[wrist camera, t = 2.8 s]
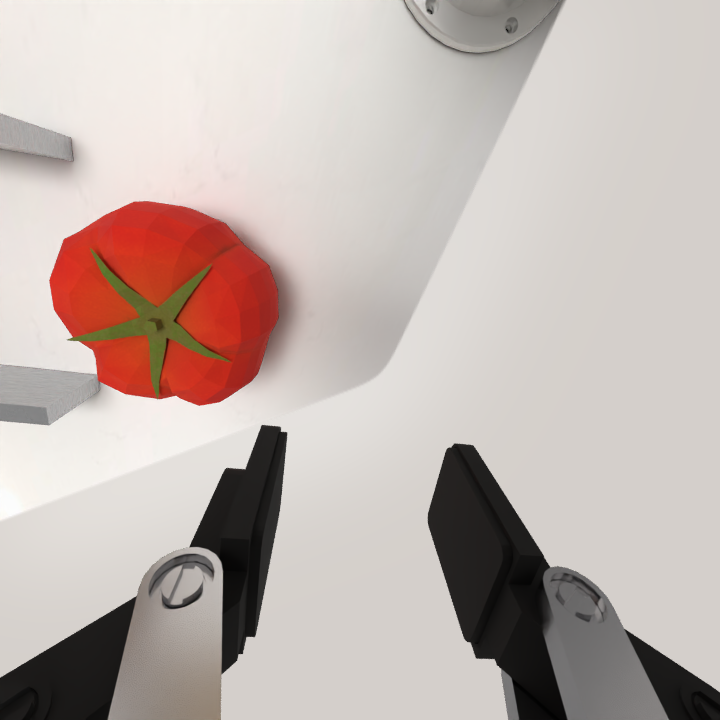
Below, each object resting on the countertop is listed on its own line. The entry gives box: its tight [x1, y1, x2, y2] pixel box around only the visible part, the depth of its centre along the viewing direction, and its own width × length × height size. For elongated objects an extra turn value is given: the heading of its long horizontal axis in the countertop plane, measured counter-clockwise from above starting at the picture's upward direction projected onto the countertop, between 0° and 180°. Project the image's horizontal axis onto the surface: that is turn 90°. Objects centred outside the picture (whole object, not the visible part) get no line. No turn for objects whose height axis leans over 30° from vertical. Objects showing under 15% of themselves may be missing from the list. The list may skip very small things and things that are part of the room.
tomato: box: [49, 201, 279, 406], centre depth 24 cm, size 14×13×10 cm
